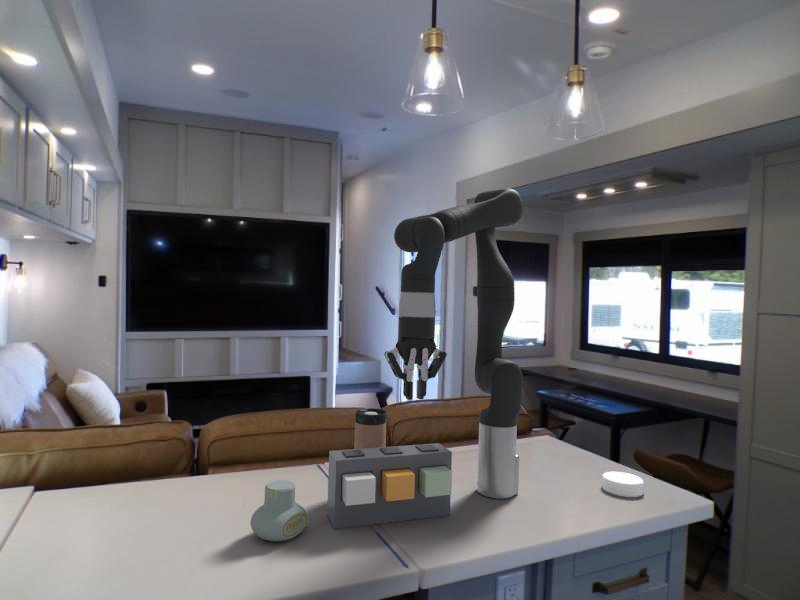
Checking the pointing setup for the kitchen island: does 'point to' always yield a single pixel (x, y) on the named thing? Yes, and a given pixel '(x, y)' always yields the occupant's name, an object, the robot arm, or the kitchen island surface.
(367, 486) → the block
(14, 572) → the kitchen island surface
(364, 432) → the travel mug
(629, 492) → the white round disc
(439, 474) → the block
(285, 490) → the air freshener
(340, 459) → the grey switch box
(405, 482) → the block
